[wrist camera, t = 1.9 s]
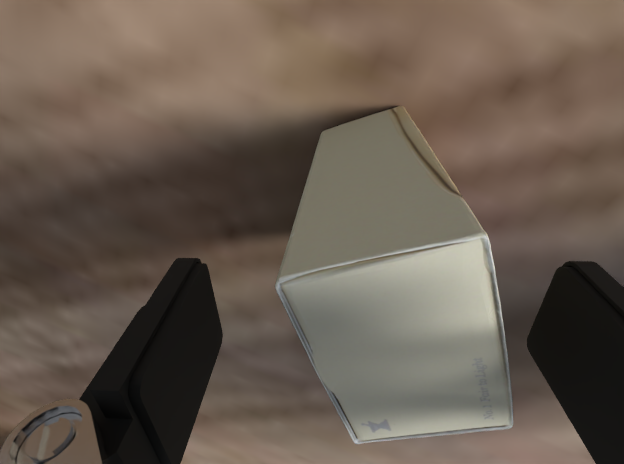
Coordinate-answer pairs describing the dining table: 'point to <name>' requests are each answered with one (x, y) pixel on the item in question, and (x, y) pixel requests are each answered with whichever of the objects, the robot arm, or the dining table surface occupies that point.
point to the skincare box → (395, 288)
